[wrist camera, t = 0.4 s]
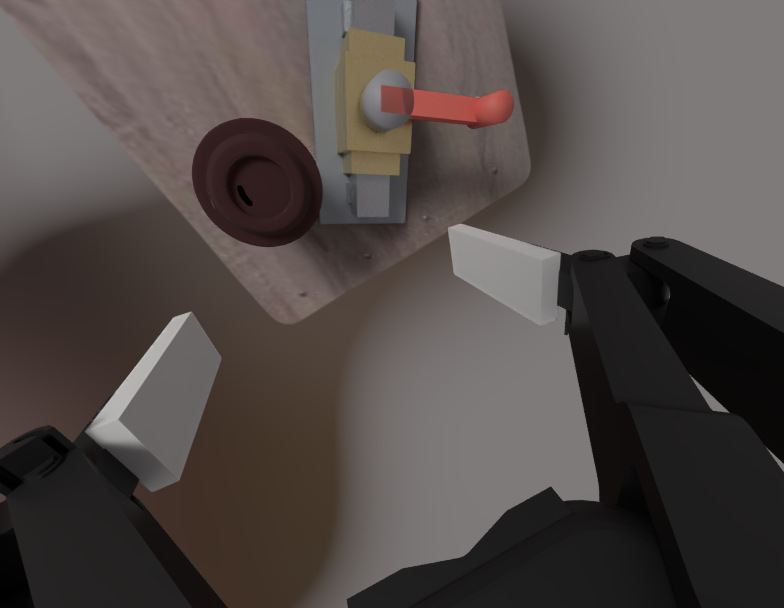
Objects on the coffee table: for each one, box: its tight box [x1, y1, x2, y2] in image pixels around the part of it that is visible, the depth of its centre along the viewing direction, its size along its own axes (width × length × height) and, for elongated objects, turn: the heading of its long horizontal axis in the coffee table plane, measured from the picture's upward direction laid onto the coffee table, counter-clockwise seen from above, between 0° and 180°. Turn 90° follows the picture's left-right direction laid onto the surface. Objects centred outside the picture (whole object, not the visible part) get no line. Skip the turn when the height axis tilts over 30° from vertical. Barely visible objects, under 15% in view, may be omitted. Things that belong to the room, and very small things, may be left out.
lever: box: [360, 69, 514, 132], centre depth 28 cm, size 14×4×6 cm, turn 88°
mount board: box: [306, 0, 417, 224], centre depth 36 cm, size 25×12×1 cm, turn 178°
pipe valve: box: [334, 0, 416, 217], centre depth 32 cm, size 22×7×7 cm, turn 178°
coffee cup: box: [192, 118, 323, 247], centre depth 29 cm, size 10×10×15 cm
